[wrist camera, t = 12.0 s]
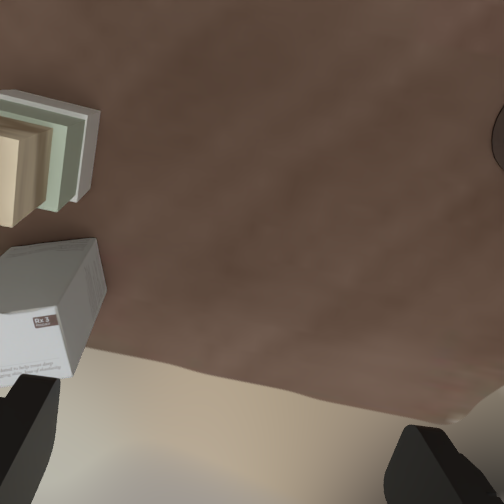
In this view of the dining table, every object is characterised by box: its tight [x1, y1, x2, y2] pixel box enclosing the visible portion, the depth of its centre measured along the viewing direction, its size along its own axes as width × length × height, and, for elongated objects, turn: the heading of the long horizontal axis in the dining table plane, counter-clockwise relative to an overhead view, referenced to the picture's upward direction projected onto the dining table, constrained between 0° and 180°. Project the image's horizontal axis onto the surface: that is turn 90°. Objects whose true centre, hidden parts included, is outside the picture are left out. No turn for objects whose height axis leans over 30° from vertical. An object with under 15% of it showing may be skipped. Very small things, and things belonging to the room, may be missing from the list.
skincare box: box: [0, 238, 107, 388], centre depth 36 cm, size 8×6×15 cm
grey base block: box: [0, 89, 101, 202], centre depth 36 cm, size 7×7×5 cm
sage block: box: [0, 99, 85, 212], centre depth 32 cm, size 6×6×5 cm
